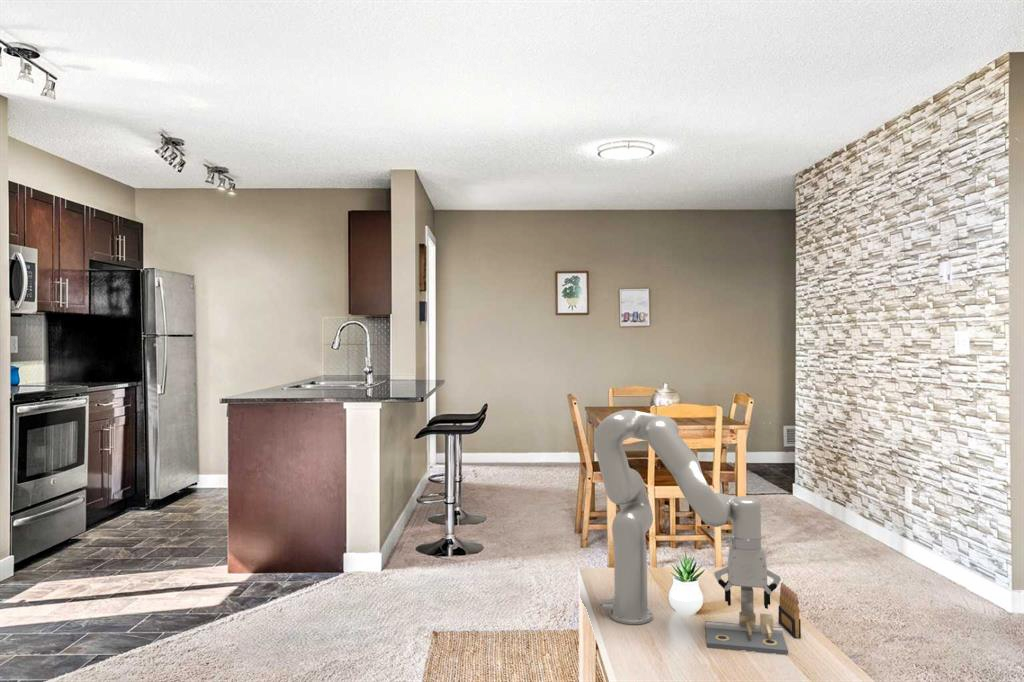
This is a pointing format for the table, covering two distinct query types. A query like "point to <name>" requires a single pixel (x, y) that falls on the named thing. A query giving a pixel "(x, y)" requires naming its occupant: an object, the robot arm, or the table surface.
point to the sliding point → (747, 610)
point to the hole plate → (737, 637)
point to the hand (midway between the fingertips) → (747, 605)
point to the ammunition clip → (789, 611)
